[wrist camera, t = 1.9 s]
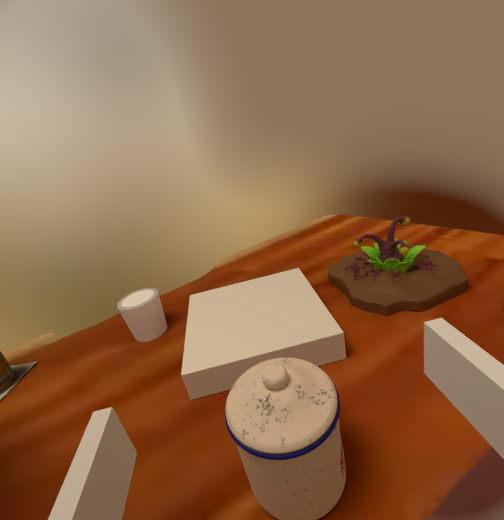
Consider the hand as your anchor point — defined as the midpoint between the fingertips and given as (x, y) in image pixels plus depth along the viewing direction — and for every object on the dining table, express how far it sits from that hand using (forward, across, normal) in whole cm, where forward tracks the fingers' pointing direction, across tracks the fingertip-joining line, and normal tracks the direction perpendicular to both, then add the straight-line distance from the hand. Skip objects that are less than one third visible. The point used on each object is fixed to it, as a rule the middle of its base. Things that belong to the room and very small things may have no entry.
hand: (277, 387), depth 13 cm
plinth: (+30, 0, -18) cm, 35 cm away
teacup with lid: (+10, 0, -19) cm, 21 cm away
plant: (+35, +25, -19) cm, 47 cm away
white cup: (+38, -18, -18) cm, 46 cm away
